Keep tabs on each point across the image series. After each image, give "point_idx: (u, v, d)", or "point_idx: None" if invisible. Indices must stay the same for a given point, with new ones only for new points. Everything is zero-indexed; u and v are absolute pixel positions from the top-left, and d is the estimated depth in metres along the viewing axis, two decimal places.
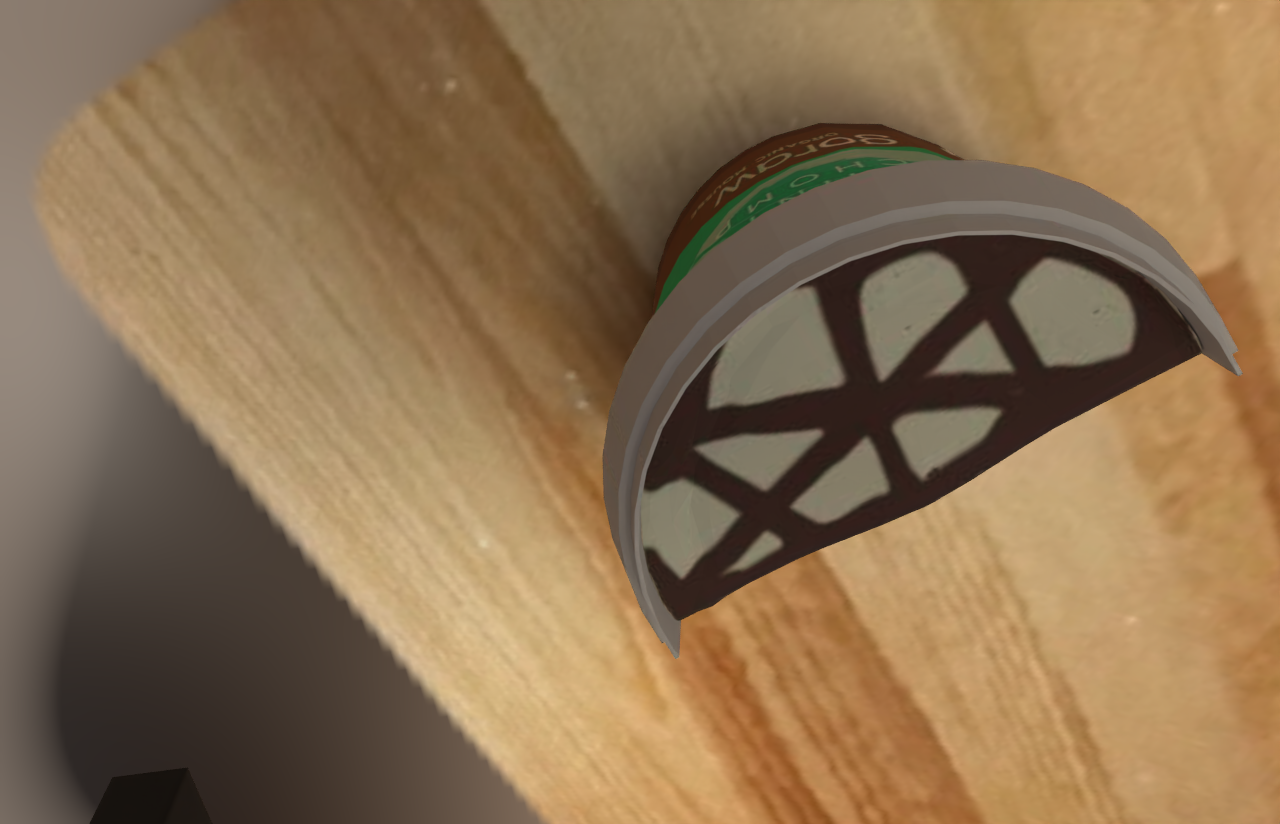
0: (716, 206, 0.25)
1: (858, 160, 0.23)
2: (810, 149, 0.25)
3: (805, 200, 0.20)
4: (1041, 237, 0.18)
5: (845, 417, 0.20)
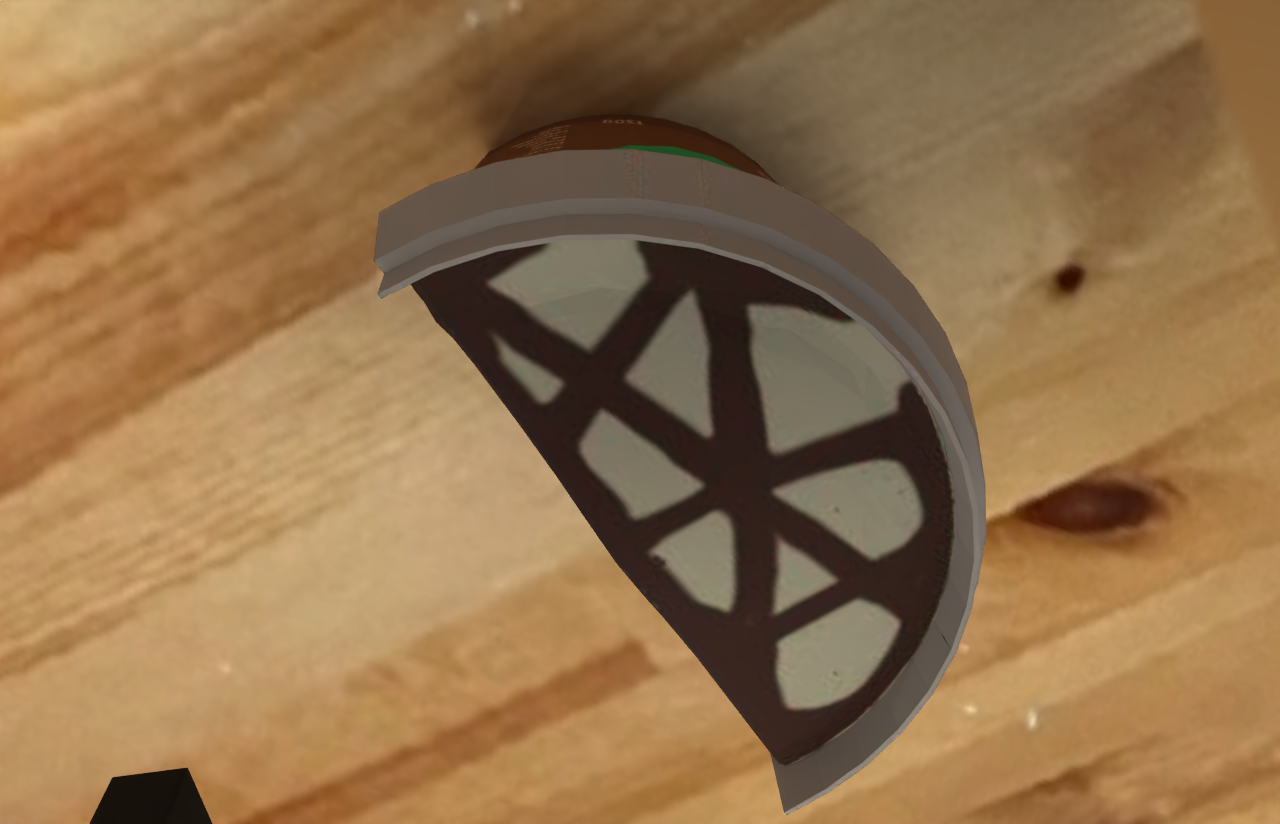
0: None
1: None
2: None
3: (963, 378, 0.18)
4: (959, 631, 0.18)
5: (728, 459, 0.17)
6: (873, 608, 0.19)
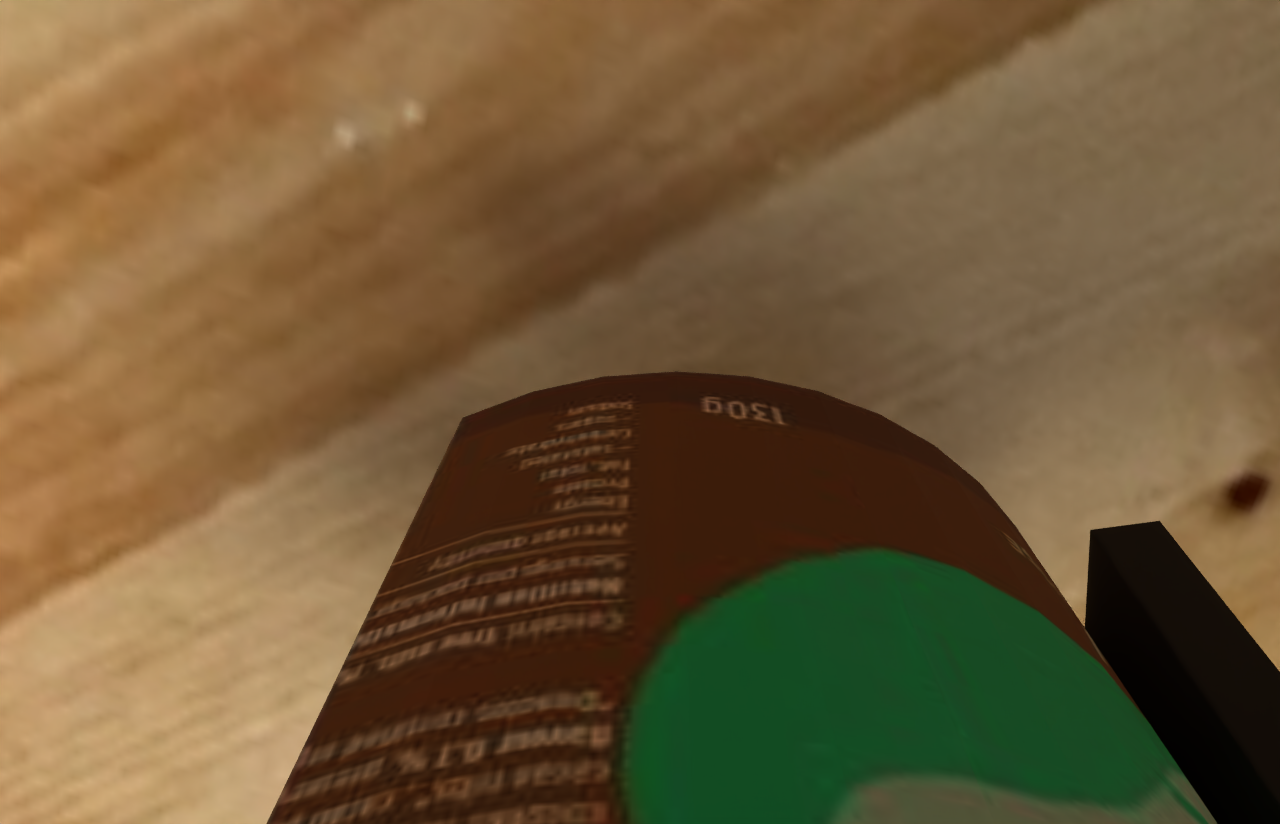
0: (1110, 667, 0.10)
1: None
2: None
3: None
4: None
5: None
6: None
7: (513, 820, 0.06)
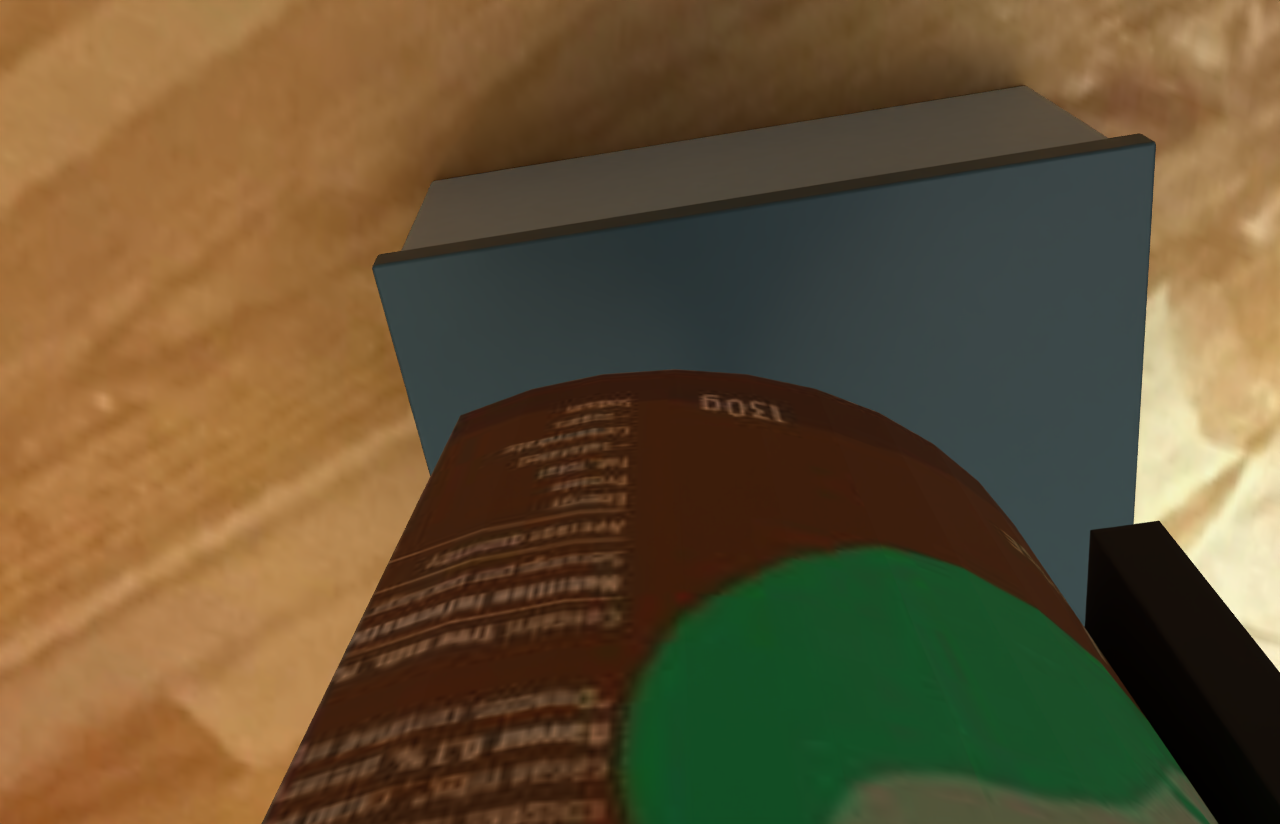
0: (1109, 666, 0.10)
1: None
2: None
3: None
4: None
5: None
6: None
7: (512, 817, 0.06)
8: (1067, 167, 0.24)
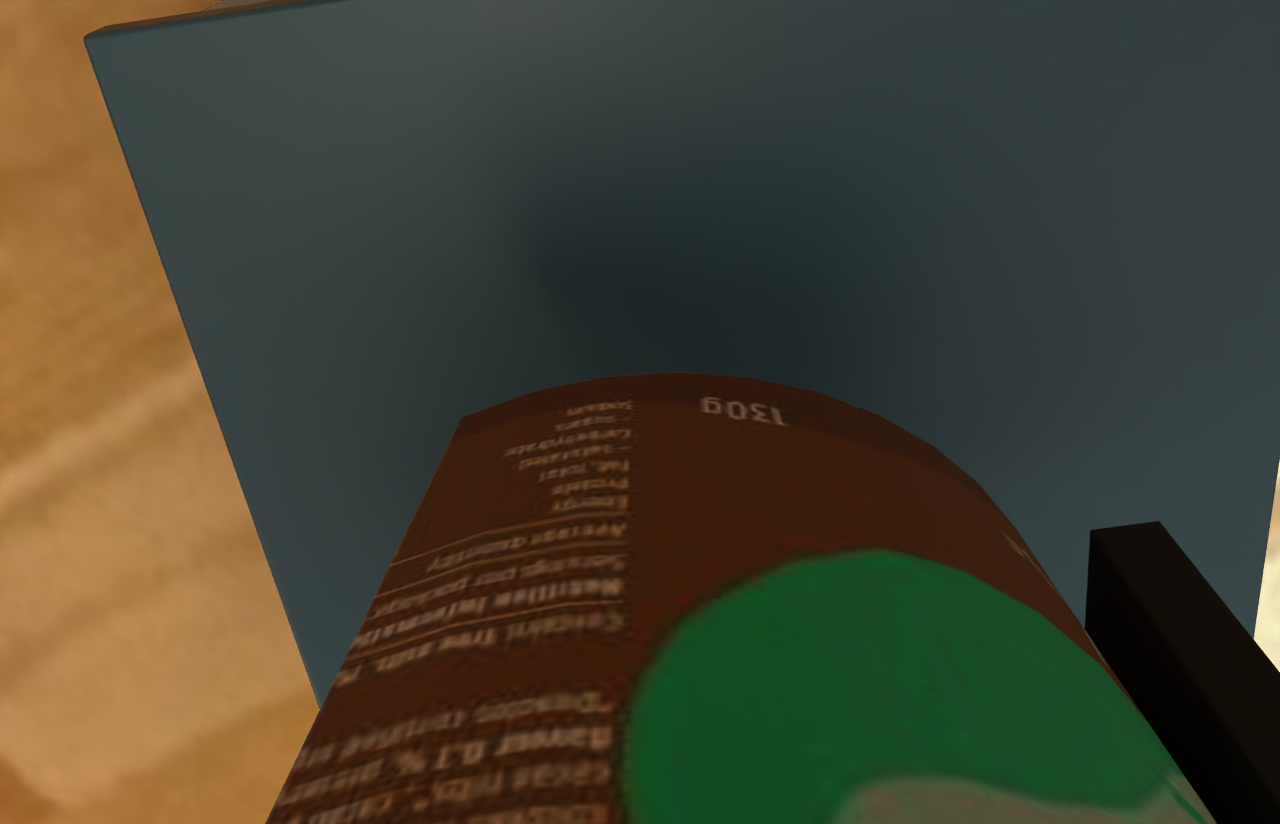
0: (1110, 669, 0.10)
1: None
2: None
3: None
4: None
5: None
6: None
7: (512, 822, 0.06)
8: None
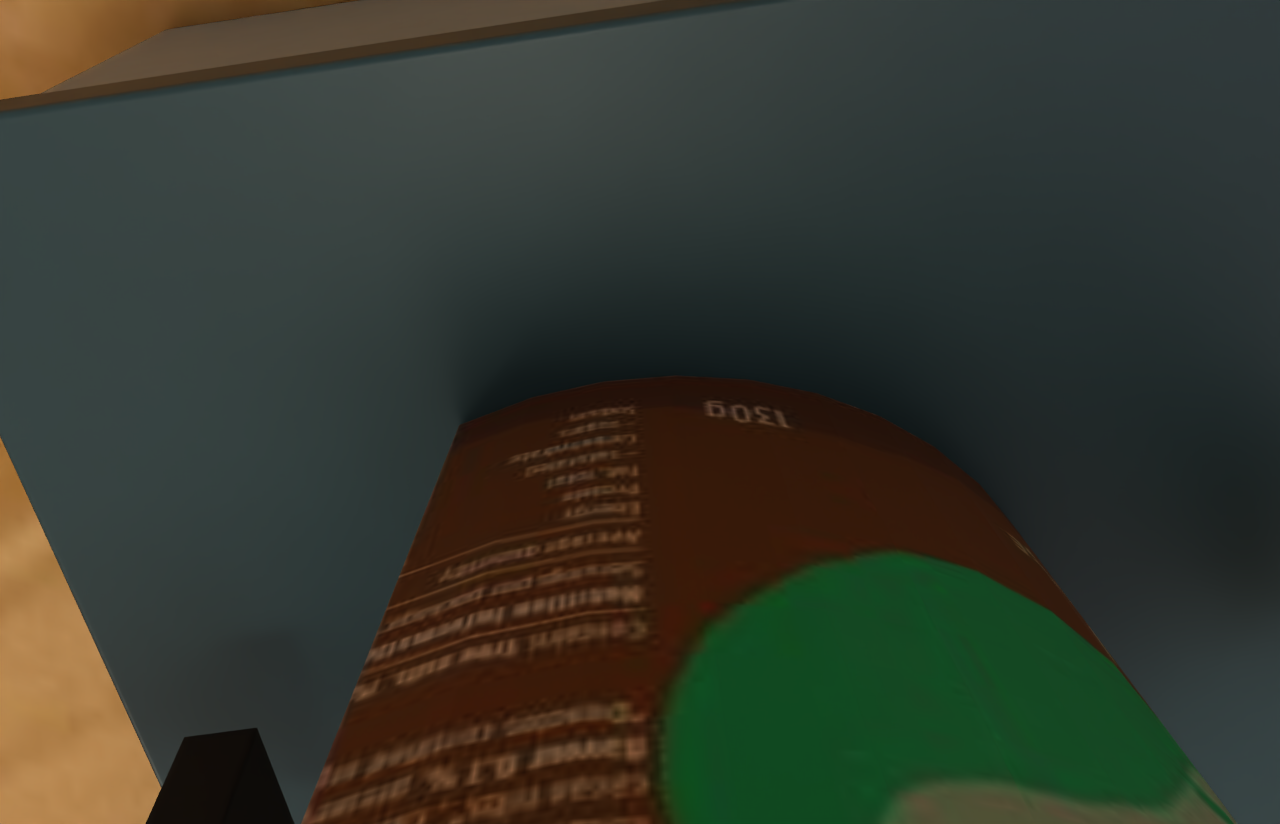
0: None
1: None
2: None
3: None
4: None
5: None
6: None
7: None
8: None
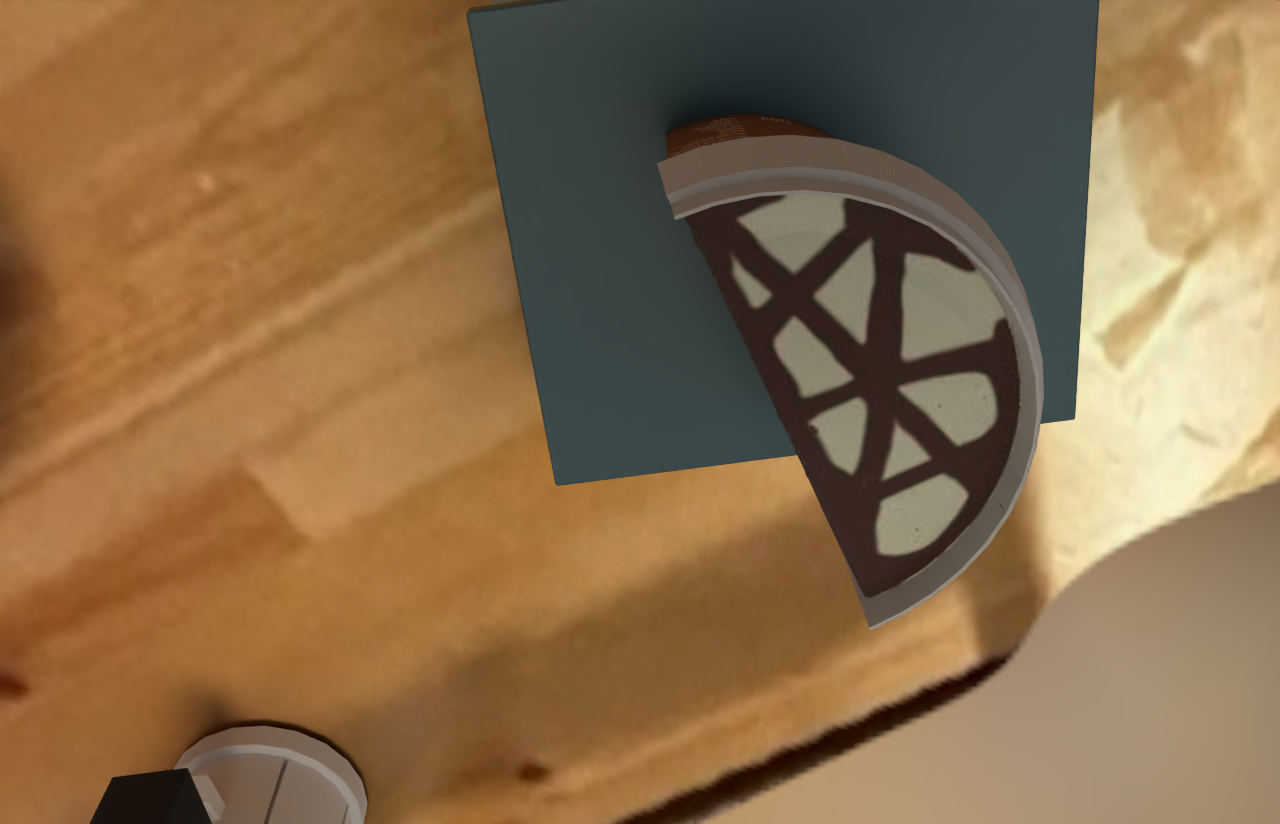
0: None
1: None
2: None
3: None
4: (1014, 499, 0.25)
5: (873, 361, 0.25)
6: (951, 482, 0.26)
7: None
8: None
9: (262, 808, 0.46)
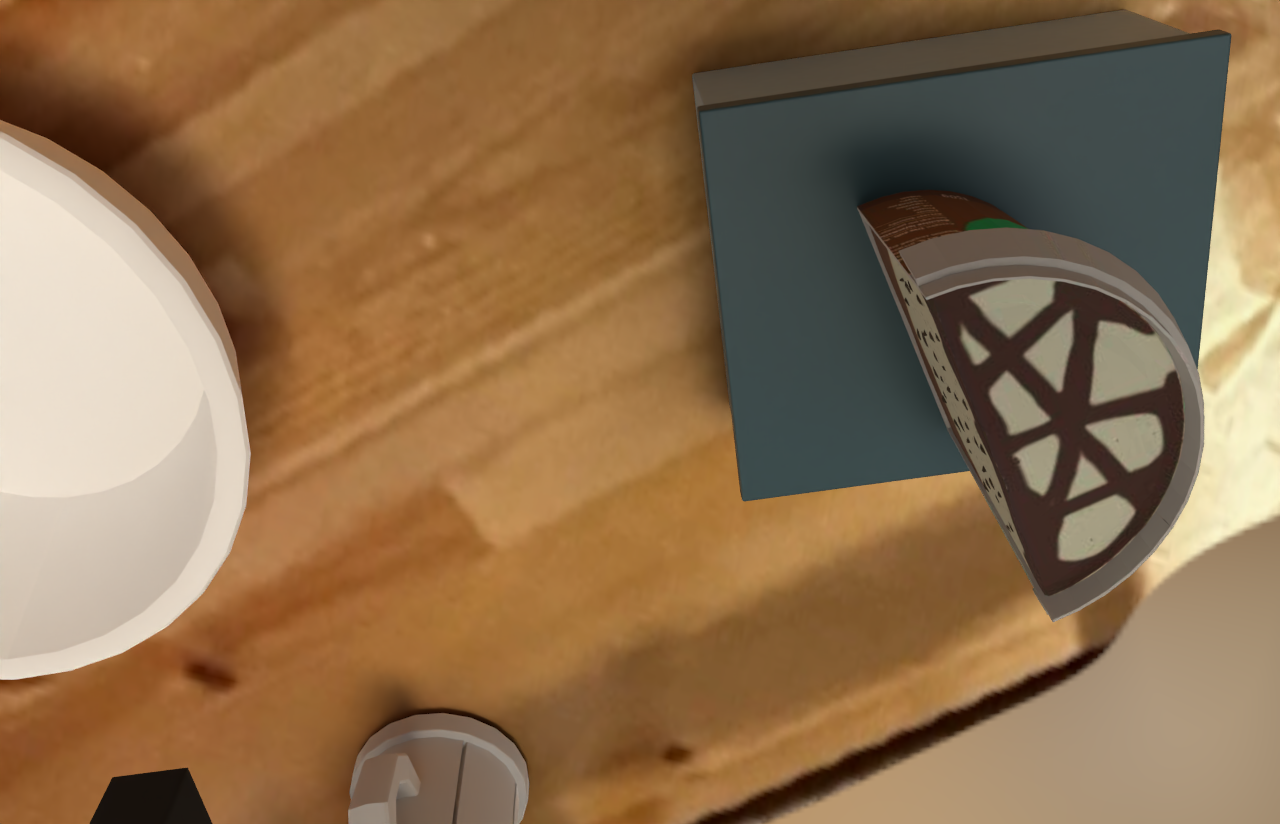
0: None
1: None
2: None
3: None
4: (1177, 515, 0.31)
5: (1066, 406, 0.31)
6: (1122, 501, 0.32)
7: None
8: (1171, 50, 0.35)
9: (453, 784, 0.52)
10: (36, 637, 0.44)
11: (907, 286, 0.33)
